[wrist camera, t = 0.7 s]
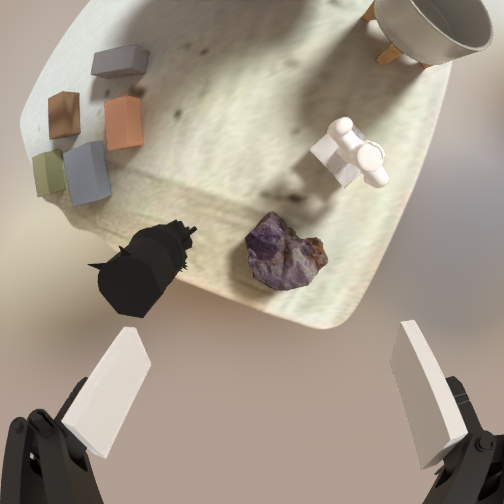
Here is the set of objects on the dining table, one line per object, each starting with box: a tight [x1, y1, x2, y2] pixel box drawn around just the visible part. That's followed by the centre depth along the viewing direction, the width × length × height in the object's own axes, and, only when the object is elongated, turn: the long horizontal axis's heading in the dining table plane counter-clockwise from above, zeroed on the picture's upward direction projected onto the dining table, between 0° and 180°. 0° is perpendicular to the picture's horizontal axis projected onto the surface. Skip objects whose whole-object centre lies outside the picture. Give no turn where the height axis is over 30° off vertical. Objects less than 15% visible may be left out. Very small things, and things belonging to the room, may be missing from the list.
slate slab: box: [63, 141, 112, 207], centre depth 40 cm, size 10×7×4 cm
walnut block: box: [48, 91, 81, 139], centre depth 36 cm, size 8×4×5 cm, turn 3°
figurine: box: [309, 115, 389, 188], centre depth 30 cm, size 7×9×15 cm
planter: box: [362, 0, 493, 68], centre depth 20 cm, size 13×13×18 cm
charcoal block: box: [91, 45, 149, 78], centre depth 32 cm, size 8×4×5 cm, turn 83°
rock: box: [245, 212, 328, 291], centre depth 40 cm, size 12×9×10 cm
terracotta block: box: [104, 95, 144, 151], centre depth 36 cm, size 8×4×5 cm, turn 3°
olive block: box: [32, 150, 66, 197], centre depth 40 cm, size 8×4×5 cm, turn 3°
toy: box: [88, 220, 197, 318], centre depth 35 cm, size 8×9×20 cm
